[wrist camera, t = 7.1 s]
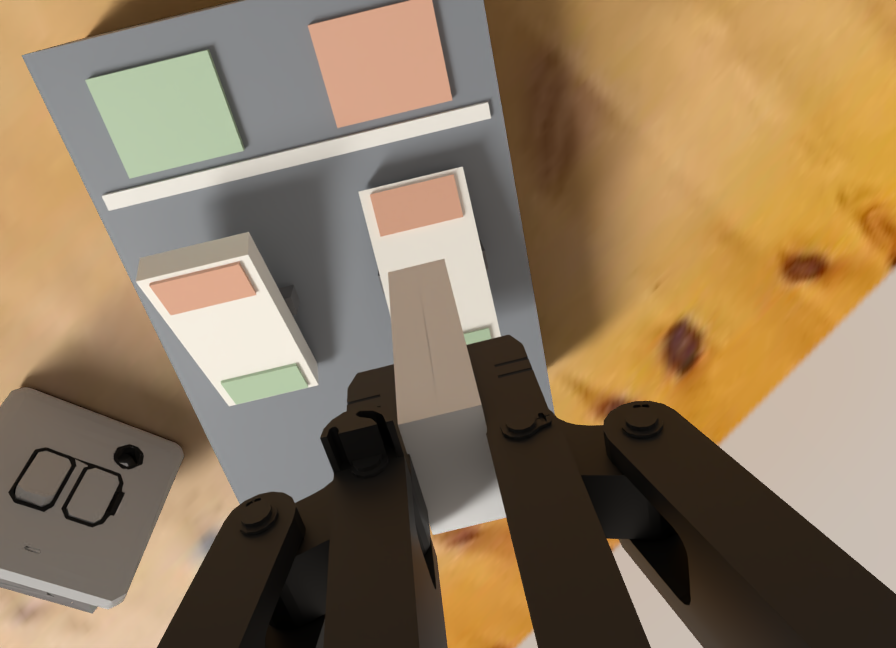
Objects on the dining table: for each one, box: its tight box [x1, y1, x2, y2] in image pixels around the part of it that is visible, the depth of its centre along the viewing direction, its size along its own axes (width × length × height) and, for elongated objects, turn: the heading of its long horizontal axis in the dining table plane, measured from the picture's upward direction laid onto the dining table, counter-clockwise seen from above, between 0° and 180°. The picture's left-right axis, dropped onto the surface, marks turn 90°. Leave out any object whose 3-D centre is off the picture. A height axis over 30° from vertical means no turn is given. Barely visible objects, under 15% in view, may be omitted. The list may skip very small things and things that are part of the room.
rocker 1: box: [136, 232, 319, 406], centre depth 27 cm, size 8×4×1 cm, turn 13°
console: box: [22, 0, 555, 504], centre depth 31 cm, size 22×16×7 cm
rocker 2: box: [358, 167, 501, 345], centre depth 27 cm, size 8×4×1 cm, turn 11°
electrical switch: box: [0, 387, 184, 613], centre depth 35 cm, size 9×5×9 cm, turn 58°
